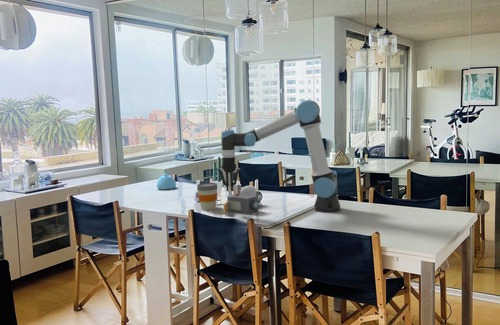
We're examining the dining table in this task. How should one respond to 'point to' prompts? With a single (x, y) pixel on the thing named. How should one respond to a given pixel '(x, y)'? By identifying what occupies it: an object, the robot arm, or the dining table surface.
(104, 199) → the dining table surface
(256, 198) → the camera body
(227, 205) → the side door
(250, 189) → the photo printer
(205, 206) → the reusable coffee cup
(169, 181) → the sugar bowl
